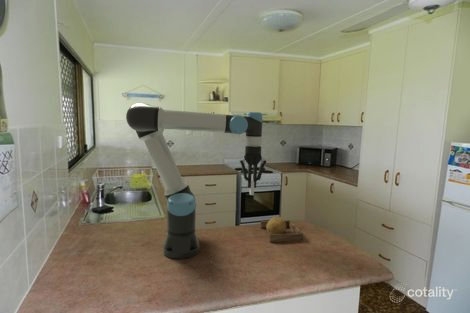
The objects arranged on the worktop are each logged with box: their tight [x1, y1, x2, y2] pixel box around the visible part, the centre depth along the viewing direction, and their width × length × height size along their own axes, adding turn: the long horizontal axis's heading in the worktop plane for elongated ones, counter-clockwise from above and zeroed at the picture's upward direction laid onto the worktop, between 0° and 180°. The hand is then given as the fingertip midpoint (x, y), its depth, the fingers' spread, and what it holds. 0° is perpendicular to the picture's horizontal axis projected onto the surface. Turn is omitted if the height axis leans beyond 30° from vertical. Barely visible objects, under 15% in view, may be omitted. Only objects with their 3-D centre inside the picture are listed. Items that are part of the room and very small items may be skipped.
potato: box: [265, 216, 287, 235], centre depth 140 cm, size 10×14×8 cm
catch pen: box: [260, 219, 304, 243], centre depth 140 cm, size 18×16×4 cm
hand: (251, 194), depth 136 cm, fingers closed
